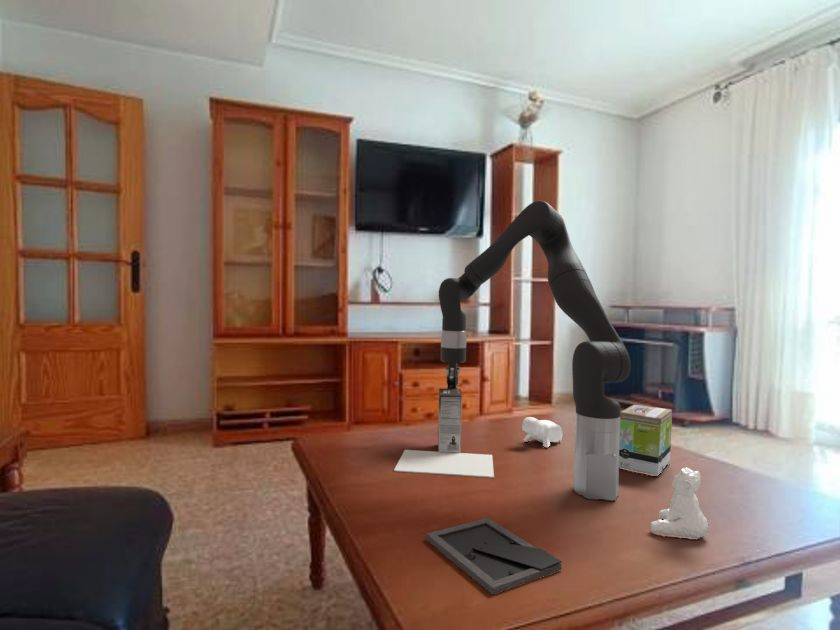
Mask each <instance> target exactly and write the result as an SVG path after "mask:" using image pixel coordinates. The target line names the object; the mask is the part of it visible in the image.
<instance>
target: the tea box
mask: <svg viewBox="0 0 840 630" xmlns="http://www.w3.org/2000/svg"><path fill="white" fill-rule="evenodd" d="M672 422H673V410H672V409H670V408H661V407H656V406H655V407H654V406H649V405H648V406H647V405H640V404H632V405H630V406H629V407H627V408H625V409H623V410H621V411H620V445H619V468H624V469H629V470H633V471H637V472H643V473H648V474H653V475H659V474H660V473H661V474H662V472H663V471H664V470H665V469H666V468H665V466H666V465H667V464H668V462H669V461H670V462H671V446H672V427H673V426H672V425H673V424H672ZM668 465H669V464H668ZM664 468H665V469H664ZM663 469H664V470H663ZM662 470H663V471H662ZM661 471H662V472H661ZM661 474H660V475H661ZM660 475H659V476H660Z"/></svg>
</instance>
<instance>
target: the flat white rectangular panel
mask: <svg viewBox="0 0 840 630" xmlns="http://www.w3.org/2000/svg"><path fill="white" fill-rule="evenodd" d="M393 472H398V473H400V472H401V473H415V474H428V475H429V474H430V475H431V474H432V475H444V476H445V475H446V476H457V477H458V476H459V477H461V476H462V477H476V478H490V479H491V478H493V479H494V478H495V475H494V473H495V471H494V459H493V454H481V453H465V452H460V453H447V452H438V451H434V450H433V451H431V450H419V449H418V450H416V449H415V450H412V449H404V451H403V453H402V454H401V457H400V459H399V460H398V461H397V464H396V466H395V467H394V470H393Z"/></svg>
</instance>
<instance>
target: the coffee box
mask: <svg viewBox="0 0 840 630" xmlns="http://www.w3.org/2000/svg"><path fill="white" fill-rule="evenodd" d="M462 407H463V393H462V389H461V388H457V389H447V388H439V389H438V412H437V414H438V415H437V416H438V417H437V418H438V420H437V421H438V423H437V425H438V426H437V445H438V446H437V448H438V451H437V452H447V453H461V452H462V451H461V450H462V449H461V448H462V447H461V445H462V412H463V411H462V410H463V408H462Z"/></svg>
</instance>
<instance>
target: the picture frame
mask: <svg viewBox="0 0 840 630" xmlns="http://www.w3.org/2000/svg"><path fill="white" fill-rule="evenodd" d="M425 540H426V541H427V542H428V543H429V544H431V546H433V547H434V549H436V550H438V551H439V552H440V553H442V554H443V556H445V557H446V558H447V559H448V560H450V561H451V562H452V563H454V565H456V566H457V567H458V568H459V569H460V570H462V571H463V573H465V572H466V573H465V574H466V575H468V576H469V577H470V576H471V577H472V578H471V577H470V578H471V579H473V580H474V579H475V580H476V581H477V582H478V583H477V582H476V581H475V580H474V581H475V582H476V583H477V584H479V585H480V584H481V585H482V586H483V587H484V588H483V587H482V586H481V585H480V586H481V587H482V588H483V589H484V590H485V591H487V590H488V591H489V592H490V595H492V594H495V595H497V594H496V593H498V594H500V593H499V592H501V591H504V590H507V589H509V588H512V587H515V586H518V585H520V584H523V583H526V582H529V583H531V582H533V581H532V580H534V581H536V580H535V579H537V580H539V579H538V578H540V577H543V576H545V577H548V576H550V575H549V574H551V573H554V572H556V573H558V572H557V571H559V570H561V571H562V560H561V559H559V558H557V557H556V556H554V555H552V554H551V553H549V552H547V551H546V550H545V549H543V548H539V547H535V546H534V545H532V544H530V543H529V542H527V541H525V540H524V539H523V538H520V536H517V534H514V533H512V531H510V530H508V529H506V528H505V527H503V526H501V525H500V524H499V523H497V522H495V521H493V520H492V519H490V518H489V517H486V518H482V519H478V520H474V521H470V522H466V523H462V524H459V525H455V526H450V527H446V528H443V529H439V530H436V531H431V532H427V533H426V537H425ZM559 572H560V571H559ZM554 574H555V573H554ZM547 575H548V576H547ZM551 575H552V574H551ZM543 578H544V577H543ZM540 579H541V578H540ZM530 581H531V582H530ZM526 584H527V583H526ZM523 585H524V584H523ZM520 586H521V585H520ZM518 587H519V586H518ZM515 588H516V587H515ZM512 589H513V588H512ZM509 590H510V589H509ZM488 591H487V592H488ZM507 591H508V590H507ZM489 592H488V593H489ZM504 592H505V591H504ZM501 593H502V592H501Z"/></svg>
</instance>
